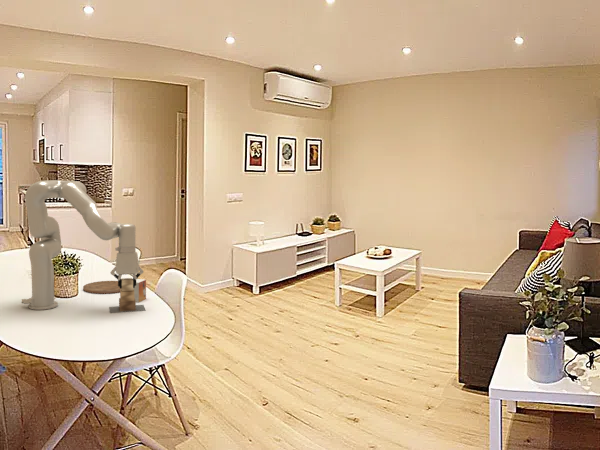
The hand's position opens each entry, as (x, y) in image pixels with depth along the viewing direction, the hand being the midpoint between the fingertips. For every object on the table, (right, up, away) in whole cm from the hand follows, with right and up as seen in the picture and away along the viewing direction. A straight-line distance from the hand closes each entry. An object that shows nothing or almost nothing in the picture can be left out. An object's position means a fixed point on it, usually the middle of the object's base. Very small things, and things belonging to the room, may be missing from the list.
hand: (127, 287), depth 251 cm
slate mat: (0, -11, +1) cm, 11 cm away
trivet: (-24, -6, +40) cm, 47 cm away
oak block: (0, -6, +1) cm, 6 cm away
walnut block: (0, -10, +1) cm, 10 cm away
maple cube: (0, -1, 0) cm, 1 cm away
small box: (0, -9, +17) cm, 20 cm away
